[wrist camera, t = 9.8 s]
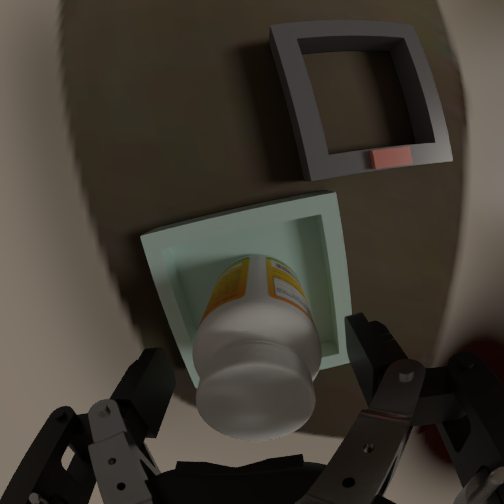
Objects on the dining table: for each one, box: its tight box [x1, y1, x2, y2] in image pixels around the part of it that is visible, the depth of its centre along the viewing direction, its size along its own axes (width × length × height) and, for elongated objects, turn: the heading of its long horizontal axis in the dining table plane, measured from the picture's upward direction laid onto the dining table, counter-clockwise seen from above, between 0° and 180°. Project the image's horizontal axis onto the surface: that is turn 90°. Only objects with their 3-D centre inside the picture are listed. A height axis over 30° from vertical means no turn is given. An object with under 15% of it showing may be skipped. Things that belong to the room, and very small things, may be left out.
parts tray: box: [140, 190, 352, 388], centre depth 17 cm, size 11×11×2 cm
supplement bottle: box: [192, 255, 322, 441], centre depth 13 cm, size 5×5×10 cm
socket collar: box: [269, 20, 453, 181], centre depth 13 cm, size 9×9×3 cm
